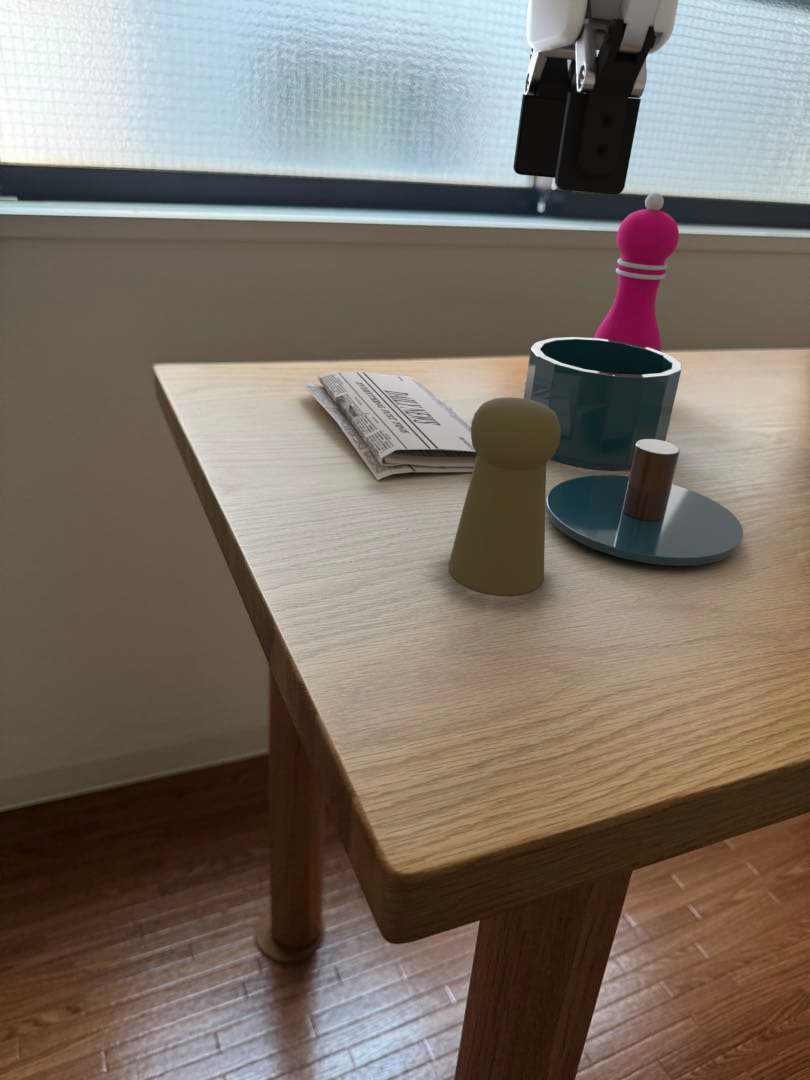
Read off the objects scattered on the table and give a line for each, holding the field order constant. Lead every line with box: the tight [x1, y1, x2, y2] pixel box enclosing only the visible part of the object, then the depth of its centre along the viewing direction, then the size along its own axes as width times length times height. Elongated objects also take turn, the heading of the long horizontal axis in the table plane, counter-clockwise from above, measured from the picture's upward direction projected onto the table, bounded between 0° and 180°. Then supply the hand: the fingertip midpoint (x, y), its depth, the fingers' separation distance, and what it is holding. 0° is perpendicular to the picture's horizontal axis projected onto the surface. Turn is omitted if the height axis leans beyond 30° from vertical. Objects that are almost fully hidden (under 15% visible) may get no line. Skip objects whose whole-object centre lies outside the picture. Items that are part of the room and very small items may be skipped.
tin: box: [523, 336, 683, 471], centre depth 75 cm, size 13×13×8 cm
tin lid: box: [545, 439, 744, 567], centre depth 60 cm, size 14×14×6 cm
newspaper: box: [301, 371, 477, 481], centre depth 76 cm, size 23×12×2 cm, turn 18°
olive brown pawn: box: [448, 396, 561, 596], centre depth 51 cm, size 6×6×11 cm
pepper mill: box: [593, 192, 680, 352], centre depth 88 cm, size 7×7×20 cm
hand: (562, 183), depth 44 cm, fingers open, 9 cm apart
